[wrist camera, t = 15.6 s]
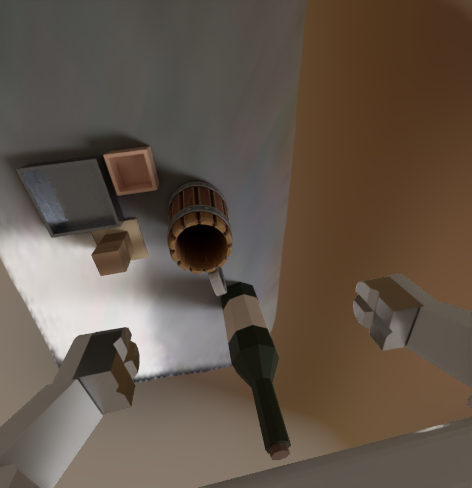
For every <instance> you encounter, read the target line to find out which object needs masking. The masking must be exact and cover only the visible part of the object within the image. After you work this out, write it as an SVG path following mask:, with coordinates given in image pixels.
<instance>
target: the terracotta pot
mask: <svg viewBox="0 0 472 488" xmlns="http://www.w3.org/2000/svg"><path fill="white" fill-rule="evenodd" d="M103 156H104V159H105V161H106V164H107V167H108V170H109V173H110V176H111V179H112V182H113V184H114V187H115V190H116V193H117V196H119V195H126V194H133V193H140V192H147V191H154V190H157V189H158V186H159V184H160V182H159V178H158V175H157V171H156V167H155V163H154V159H153V155H152V151H151V147H150V146H145V147H137V148H129V149H121V150H113V151H110V152H108V153H106V154H104V155H103Z"/></svg>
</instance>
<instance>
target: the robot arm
mask: <svg viewBox="0 0 472 488" xmlns="http://www.w3.org/2000/svg"><path fill="white" fill-rule="evenodd" d="M356 291H357V293H358V294H359V295H358V296H357V297H356V298H355V299H354V304H353V309H354V313H355V316H356V318H357V319H358V321H359V322H360V323H361V325H362V326H364V327H366V328H368V329H370V336H371V337H372V339H373V340H374V341H375V342H376V344H377V345H378V346H379V347H380V349H381V350H382V351H385V350H390V349H395V348H400V347H405V346H406V348H407V349H409V350H410V351H412V352H414V353H415V354H417V355H419V356H420V357H422V358H424V359H425V360H427V361H429V362H430V363H432V364H434V365H435V366H437V367H438V368H440V369H442V370H443V371H445V372H447V373H448V374H450V375H451V376H453V377H455V378H456V379H458V380H460V381H461V382H463V383H465V384H466V385H468V386H469V387H471V388H472V312H470V311H467V310H464V309H461V308H459V307H456V306H453V305H450V304H447V303H445V302H444V303H439V302H437V301H436V300H435V299H434V298H432V297H431V296H430V295H429V294H427V293H426V292H425V291H423V290H422V289H421V288H420V287H418V286H417V285H416V284H414V283H413V282H412V281H411V280H409V279H408V278H407V277H405V276H404V275H401V274H395V275H390V276H386V277H381V278H376V279H371V280H366V281H361V282H359V283H358V284H357V287H356ZM131 336H132V334H131V332H130V330H129V328H126V327H124V328H118V329H112V330H106V331H100V332H95V333H91V334H85V335H79V336H78V337H76V338H75V339H74V341H73V343H72V345H71V347H70V349H69V351H68V353H67V355H66V357H65V359H64V361H63V363H62V365H61V367H60V369H59V371H58V373H57V375H56V377H55V379H54V381H53V383H52V384H50V385H46V386H45V387H44V388H43V389H42V390H41V391H40V392H38V393H37V394H36V395H35V396H34V397H33V398H32V399H31V400H30V401H29V402H28V403H26V404H25V405H24V406H23V407H22V408H21V409H20V410H19V411H18V412H17V413H15V414H14V415H13V416H12V417H11V418H10V419H9V420H8V421H7V422H5V423H4V424H3V425H2V426H1V427H0V488H53V487H54V486H55V484H56V483H57V481H58V480H59V479H60V477H61V476H62V474H63V473H64V471H65V470H66V469H67V467H68V466H69V464H70V463H71V461H72V460H73V458H74V457H75V455H76V454H77V453H78V451H79V450H80V448H81V447H82V446H83V444H84V442H85V441H86V440H87V438H88V437H89V435H90V434H91V433H92V431H93V430H94V428H95V427H96V425H97V424H98V422H99V421H100V419H101V418H102V417H103V415H102V414H106V413H110V412H114V411H118V410H122V409H126V408H130V407H131V406H132V401H133V396H134V391H135V384H134V382H133V380H132V379H133V378H134V377H135V376H136V374H137V373H138V370H139V351H138V348H137V345H136V343H134V342H132V341H130V340H131ZM467 405H469V407H470V408H471V409H472V393H471V395H470V396H469V398H468V404H467ZM199 488H472V417H469V418H465V419H461V420H457V421H453V422H449V423H446V424H442V425H438V426H434V427H430V428H426V429H423V430H419V431H415V432H411V433H407V434H403V435H399V436H396V437H391V438H388V439H384V440H380V441H376V442H372V443H369V444H365V445H361V446H357V447H353V448H349V449H345V450H341V451H337V452H334V453H330V454H326V455H322V456H318V457H314V458H311V459H307V460H303V461H299V462H295V463H291V464H287V465H283V466H280V467H276V468H272V469H269V470H265V471H260V472H256V473H253V474H249V475H245V476H241V477H237V478H233V479H230V480H226V481H222V482H218V483H214V484H210V485H207V486H203V487H199Z"/></svg>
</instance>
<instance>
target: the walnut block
mask: <svg viewBox="0 0 472 488" xmlns="http://www.w3.org/2000/svg"><path fill="white" fill-rule="evenodd" d="M133 253H134V248H133V245H132V242H131V239H130V236H129V233H128V231H126V232H120V233H114V234H107V235H104V237H103V238H102V240H101V241H100V243H99V244H98V246H97V247H96V249H95V250H94V252H93V253H92V255H91V256H92V258H93V260H94V262H95V264H96V266H97V269H98V271H99V273H100V275H101V276H103V275H109V274H115V273H121V272H126V271H127V268H128V266H129V263H130V260H131V258H132V255H133Z"/></svg>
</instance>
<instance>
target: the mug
mask: <svg viewBox="0 0 472 488" xmlns="http://www.w3.org/2000/svg"><path fill="white" fill-rule="evenodd" d="M168 219H169V227H168V246H169V249H170V254H171V257H172V259H173V260H174V261H175V262H177V264H178V265H179V267H181V268H182V269H184V270H189V269H190V271H191V272H192V273H196V274H200V273H202V272H203V271H205V272H207V273H208V276H209V279H210V282H211V285H212V287H213V290H214V292H215V294H216V295H217V296H219V295H222V294H225V293H227V288H226V283H225V279H224V275H223V271H222V268H221V266H222V265H224V263H225V262H226V261H227V257H228V256H230V254H231V251H232V240H233V236H232V231H231V225H230V223H229V219H228V208H227V202H226V200H225V198H224V196H223V194H222V193H221V192H220V191H219V190H218V189H217V188H216V187H214V186H213V185H210V184H209V183H206V182H202V181H197V182H193V181H192V182H188V183H186V184H183V186H181V187H179V188H178V189H177V190H176V191H175V192H174V193H173V194H172V196H171V198H170V200H169V204H168Z"/></svg>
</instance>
